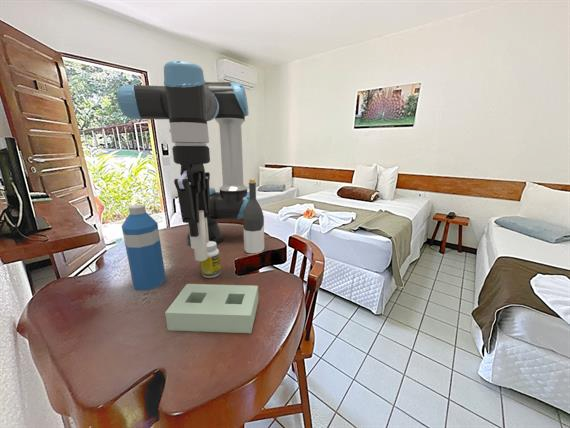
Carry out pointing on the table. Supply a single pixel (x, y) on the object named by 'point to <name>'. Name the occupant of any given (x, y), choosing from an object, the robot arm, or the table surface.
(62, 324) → the table surface
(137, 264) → the water bottle
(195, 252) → the dowel
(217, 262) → the pill bottle
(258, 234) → the wine bottle
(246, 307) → the socket block
